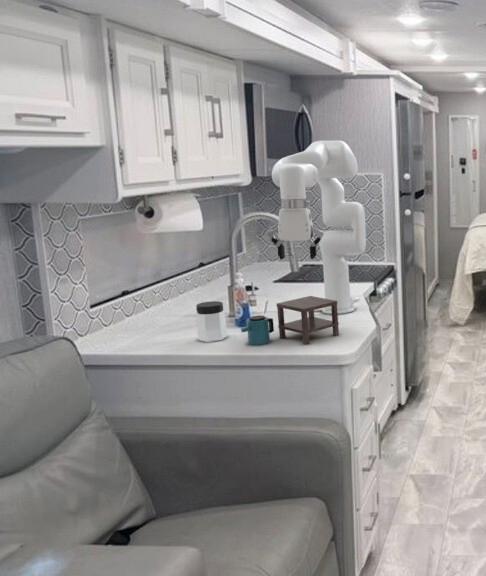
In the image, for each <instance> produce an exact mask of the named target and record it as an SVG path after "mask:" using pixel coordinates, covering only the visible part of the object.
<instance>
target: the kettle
mask: <svg viewBox="0 0 486 576" xmlns="http://www.w3.org/2000/svg"><path fill="white" fill-rule="evenodd" d="M274 326H275V325H274V318H272V317H271V318H270V317H267V316H265V315H253V316H250V317H249V318H247V319H246V326H244V327H240V332H241V333H246V332H247V341H248V345H249V346H263V345H267V344H270V342H271V340H270V334H271V333H273V332H275V328H274Z"/></svg>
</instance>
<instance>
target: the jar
mask: <svg viewBox="0 0 486 576" xmlns="http://www.w3.org/2000/svg"><path fill="white" fill-rule="evenodd" d="M195 308H196V313H195V321H196V328H197V329H196V330H197V339H198V341H201V342H204V343H212V342H219V341H222V340H224V339H226V338H227V337H228V329H227V328H228V327H227V317H226V310H225V309H224V302H222V301H220V300H219V301H216V300H213V301H211V300H210V301H204V302H200V303H197V304H196V307H195Z"/></svg>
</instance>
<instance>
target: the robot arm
mask: <svg viewBox="0 0 486 576" xmlns="http://www.w3.org/2000/svg"><path fill="white" fill-rule="evenodd" d="M358 170H359V165H358V161H357V159H356V156H355V154H354V153H353V151H352V148H351V147H350V145H348V143H346V142H345V141H343V140H317V141H313V142H311V143H310V144H309V145H308V146H307V148H306V149H305V150H303V151H300V152H297V153H294V154H291V155H287V156H285V157H282V158H280V159H279V160H278V161H277V162H276V163H275V164H274V165H273V167H272V169H271V180H272V182H273V183H274V185H275V186H277V187H279V191H280V192H279V193H280V205H281V208H280V209H279V213H278V223H277V224H278V225H277V227H276V228H273V230H270V231H269V232H267V236H268V237H269V239H270V241H271V242H272V243H273V244H274V245H275V247H277V256H278V257H279V260H284V259H285V258H286V253H285V246H284V243H285V242H303V241H305V242H307V243H308V244H309V245H310V247H309V257H310V260H314V259H316V257H317V245H318V247H319V250H320V254H321V260H322V269H323V287H324V299H330V300H335V301H337V313H338V315H341V314H347V313H352V312H354V311H355V310H356V307H355V305H354V303H359V302H360V300H361V299H360V297H359V296H356V297H351V287H350V286H351V285H350V269H349V264H348V262H347V261H346V260H345V258H344V257H343V256H360V255H363V254H364V253H365V251H366V248H367V246H366V245H367V232H366V231H367V229H366V213H365V208H364V206H363V204H362V203H360V202H358V201H346V199H345V196H346V195H345V188H344V186H343V184H342V183H341V182H340V180H339V179H354V178H355V177H356V176H357V175H358ZM317 184H318V185H319V187H320V188H319V189H320V191H321V215H322V216H321V217H322V222H323V224H324V225H325V226H327V227H332V228H351V230H350V229H349V230H345V229H341V230H340V229H339V230H338V229H337V230H335V229H333V230H332V229H331V230H325V231H323V230H320V229H318V228H317V227H314V224H313V218H312V213H311V210H310V208H308V206H311V205H312V201H311V200H308V198H307V193H306V192H307V191H306V188H312V187H314V186H316V185H317ZM276 234H278V238H279V239H278V238H277V237H276ZM315 234H316V235H317V237H316V238H315V239H314V235H315ZM321 312H322V313H324V314H327V315H332V310H331V306H328V307H324V308H321Z"/></svg>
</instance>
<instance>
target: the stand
mask: <svg viewBox="0 0 486 576" xmlns="http://www.w3.org/2000/svg"><path fill="white" fill-rule="evenodd" d="M328 306H331V310H332V314H331V320H330V319H325V318H321V317H316V316H315V311H316V310H320V309H322V308H324V307H328ZM276 309H277V310H276V311H277V321H278V325H277V326H278V327H277V328H278V334H279V339H286V337H287V336H286V331H289V332H294V333H298V334H301V335H302V344H303V345H309V344H310V334H311V333H316V332H320V331H322V330H326V329H329V328H332V335H333V336H335V337H336V336H337V337H338V336H340V331H339V330H340V329H339V324H340V323H339V314H338V313H337V301H335V300H330V299H325V297H324V298H323V297H319V296H314V295H307V296H304V297H299V298H295V299H291V300H286V301H282V302H281V301H280V302H276ZM284 310H290V311H294V312H298V313H300V316H301V318H299V319H297V320H293V321H288V322H285V311H284Z"/></svg>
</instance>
